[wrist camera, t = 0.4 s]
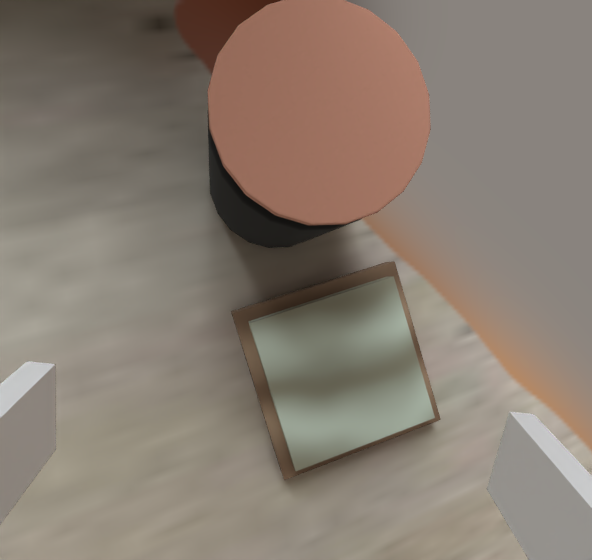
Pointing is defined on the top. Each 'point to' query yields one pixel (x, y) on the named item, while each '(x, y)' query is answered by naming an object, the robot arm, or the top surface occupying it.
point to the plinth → (336, 367)
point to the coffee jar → (312, 120)
